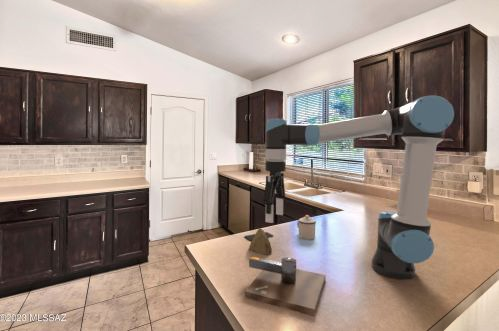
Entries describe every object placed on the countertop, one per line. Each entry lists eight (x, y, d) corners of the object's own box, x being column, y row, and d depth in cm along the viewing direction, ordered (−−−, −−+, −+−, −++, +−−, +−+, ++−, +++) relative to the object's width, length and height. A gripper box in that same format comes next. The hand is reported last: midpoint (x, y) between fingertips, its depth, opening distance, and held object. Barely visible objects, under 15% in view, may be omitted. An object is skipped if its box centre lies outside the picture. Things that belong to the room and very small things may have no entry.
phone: (274, 235, 140) (250, 240, 132) (274, 237, 140) (250, 242, 132) (266, 231, 146) (243, 236, 139) (266, 233, 146) (243, 237, 139)
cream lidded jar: (319, 237, 139) (319, 216, 138) (306, 240, 134) (307, 218, 133) (303, 231, 149) (303, 211, 148) (291, 234, 144) (291, 213, 143)
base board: (325, 280, 94) (325, 274, 94) (314, 316, 74) (314, 308, 74) (268, 268, 103) (268, 263, 103) (244, 297, 83) (244, 290, 83)
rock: (278, 249, 117) (269, 238, 126) (269, 236, 114) (260, 226, 123) (259, 265, 115) (252, 253, 124) (249, 252, 112) (242, 241, 121)
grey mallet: (297, 278, 91) (297, 257, 90) (293, 285, 86) (294, 262, 86) (252, 268, 98) (253, 248, 97) (247, 274, 93) (247, 253, 93)
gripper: (276, 159, 110) (275, 210, 111) (253, 161, 88) (253, 225, 90) (293, 159, 107) (292, 212, 108) (274, 162, 85) (273, 228, 87)
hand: (274, 218), depth 99 cm, fingers open, 11 cm apart
